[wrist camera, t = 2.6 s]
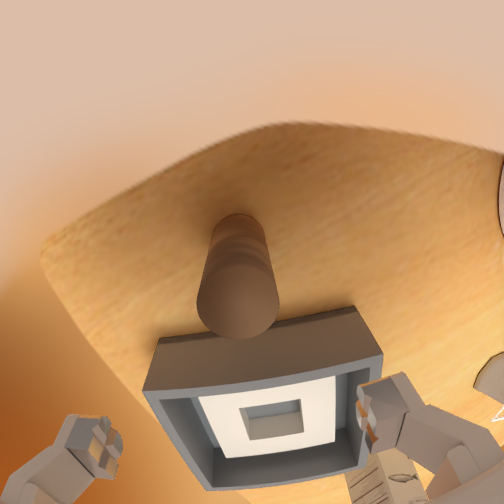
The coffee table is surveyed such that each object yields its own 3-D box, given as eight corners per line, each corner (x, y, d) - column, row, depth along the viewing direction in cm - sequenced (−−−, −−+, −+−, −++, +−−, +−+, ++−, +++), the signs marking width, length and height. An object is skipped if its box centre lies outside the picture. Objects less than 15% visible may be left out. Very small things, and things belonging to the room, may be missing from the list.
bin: (354, 305, 27) (383, 353, 20) (351, 423, 33) (365, 467, 27) (159, 338, 27) (141, 391, 21) (209, 445, 34) (206, 491, 27)
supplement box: (404, 439, 36) (432, 504, 25) (374, 465, 39) (394, 527, 27) (371, 436, 35) (397, 510, 23) (339, 463, 37) (357, 532, 25)
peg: (260, 209, 24) (273, 261, 14) (268, 258, 25) (284, 332, 16) (207, 219, 24) (187, 276, 14) (218, 267, 25) (207, 344, 16)
